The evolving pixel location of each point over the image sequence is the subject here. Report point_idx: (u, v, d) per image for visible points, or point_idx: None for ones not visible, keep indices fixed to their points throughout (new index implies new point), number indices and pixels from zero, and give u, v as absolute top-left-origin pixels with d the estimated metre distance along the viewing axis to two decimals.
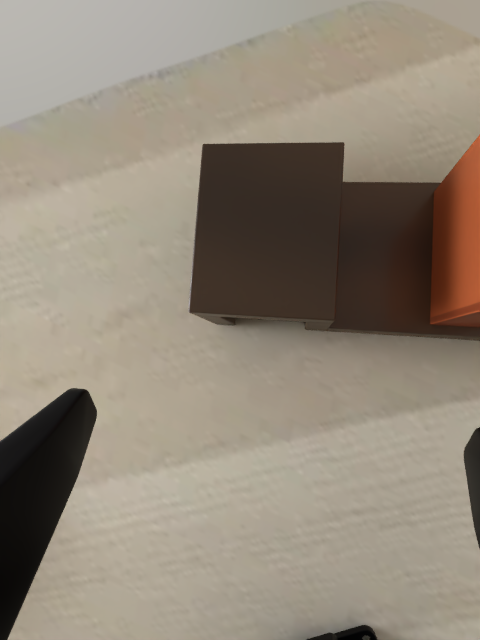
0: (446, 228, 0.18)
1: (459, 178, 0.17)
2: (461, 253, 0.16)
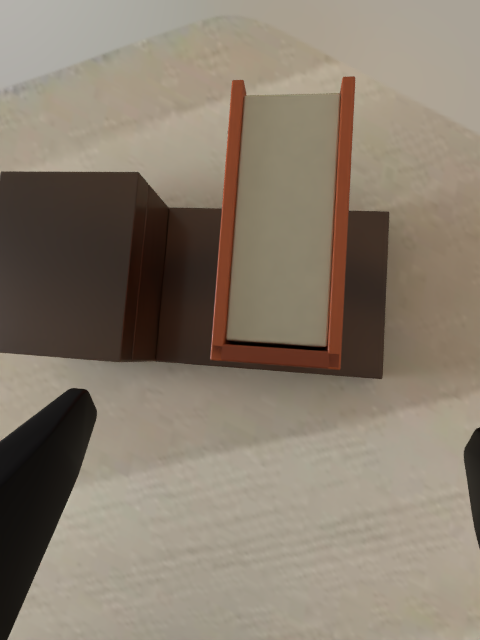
0: None
1: None
2: None
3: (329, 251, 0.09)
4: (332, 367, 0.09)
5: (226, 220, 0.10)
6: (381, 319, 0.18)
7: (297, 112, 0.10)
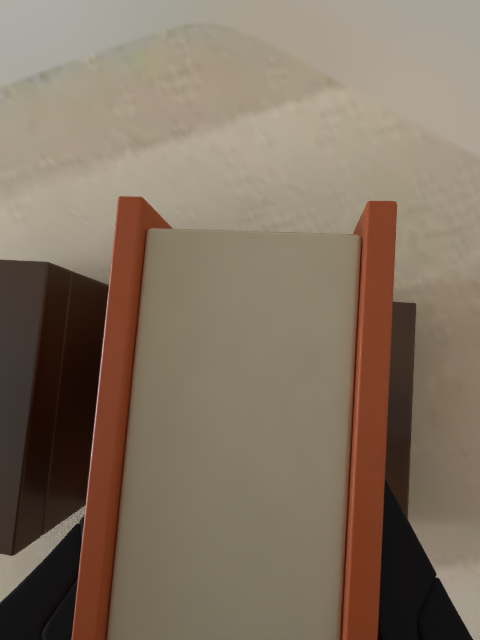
0: None
1: None
2: None
3: (334, 638, 0.04)
4: None
5: (94, 533, 0.04)
6: (405, 459, 0.13)
7: (262, 275, 0.04)
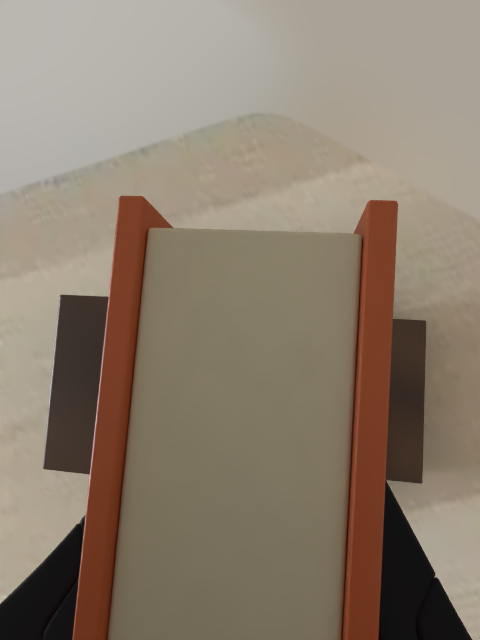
0: None
1: None
2: None
3: (335, 637, 0.04)
4: None
5: (95, 532, 0.04)
6: (420, 426, 0.19)
7: (262, 275, 0.04)
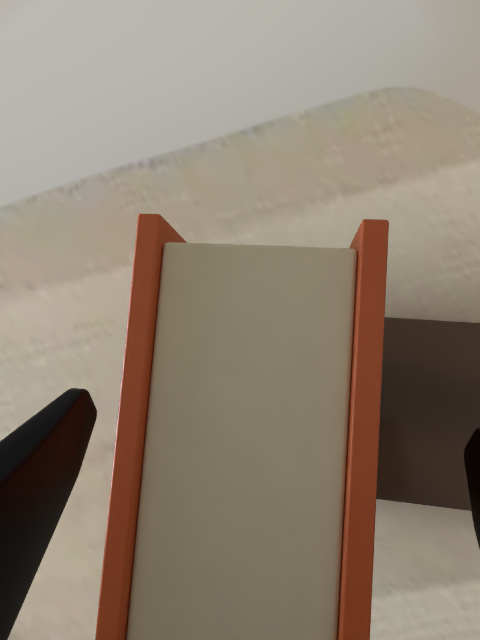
0: None
1: None
2: None
3: (332, 608, 0.04)
4: None
5: (117, 516, 0.05)
6: None
7: (268, 285, 0.05)
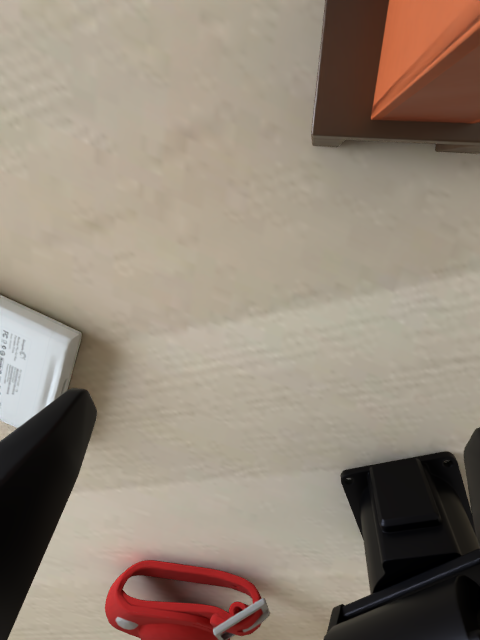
0: None
1: None
2: None
3: None
4: None
5: None
6: None
7: None
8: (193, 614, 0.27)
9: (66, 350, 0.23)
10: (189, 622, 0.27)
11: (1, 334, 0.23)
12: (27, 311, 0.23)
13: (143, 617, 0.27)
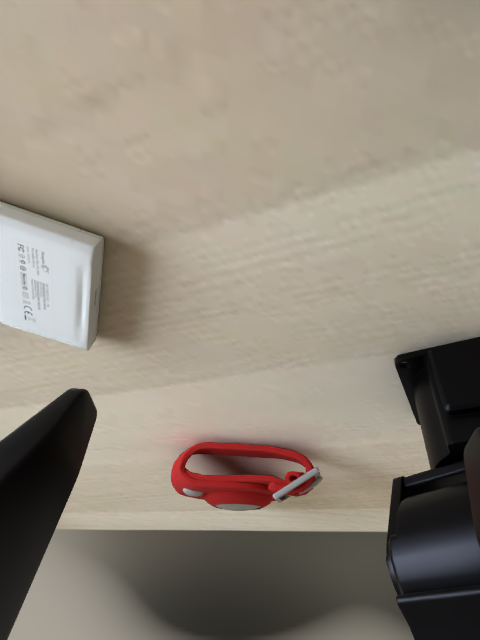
0: None
1: None
2: None
3: None
4: None
5: None
6: None
7: None
8: (252, 483, 0.30)
9: (91, 259, 0.20)
10: (249, 489, 0.30)
11: (16, 248, 0.21)
12: (38, 219, 0.20)
13: (208, 488, 0.30)
